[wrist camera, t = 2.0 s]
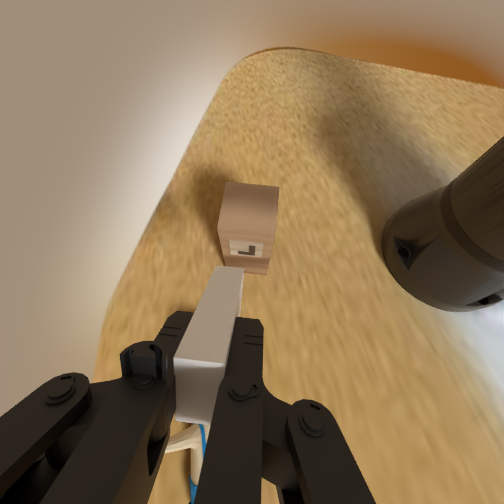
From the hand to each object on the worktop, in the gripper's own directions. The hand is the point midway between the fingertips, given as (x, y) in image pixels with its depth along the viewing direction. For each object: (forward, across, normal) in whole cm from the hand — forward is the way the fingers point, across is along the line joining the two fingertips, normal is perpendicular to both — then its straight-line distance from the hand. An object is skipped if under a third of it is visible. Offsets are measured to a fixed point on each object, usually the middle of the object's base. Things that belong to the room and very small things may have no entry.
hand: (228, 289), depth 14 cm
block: (+18, 0, -5) cm, 19 cm away
